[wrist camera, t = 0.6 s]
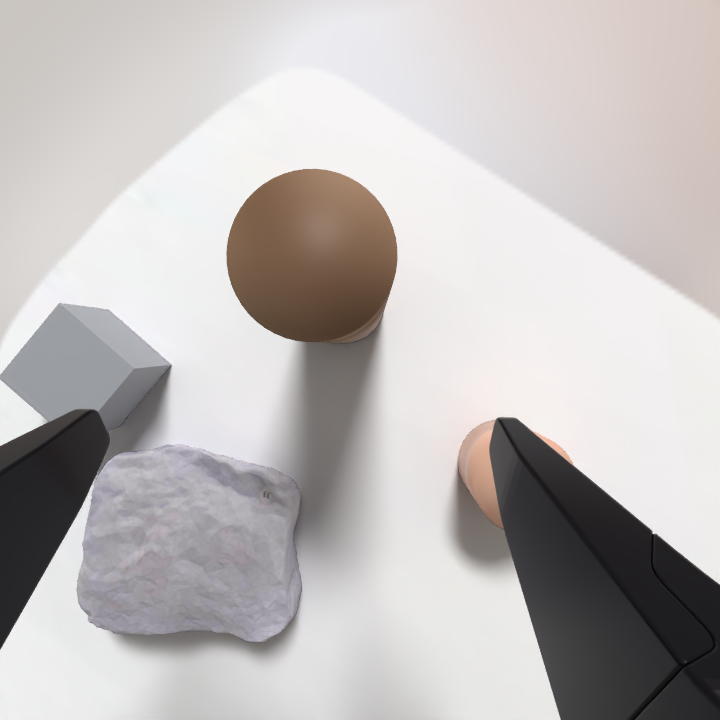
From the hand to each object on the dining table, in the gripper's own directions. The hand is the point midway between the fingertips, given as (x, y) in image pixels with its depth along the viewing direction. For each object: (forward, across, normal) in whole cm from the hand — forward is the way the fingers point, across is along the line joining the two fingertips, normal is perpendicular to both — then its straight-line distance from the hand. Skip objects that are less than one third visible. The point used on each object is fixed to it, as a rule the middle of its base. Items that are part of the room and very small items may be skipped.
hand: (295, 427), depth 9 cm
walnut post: (+15, 0, +4) cm, 15 cm away
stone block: (+9, +8, +15) cm, 20 cm away
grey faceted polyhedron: (+13, +14, +7) cm, 20 cm away
